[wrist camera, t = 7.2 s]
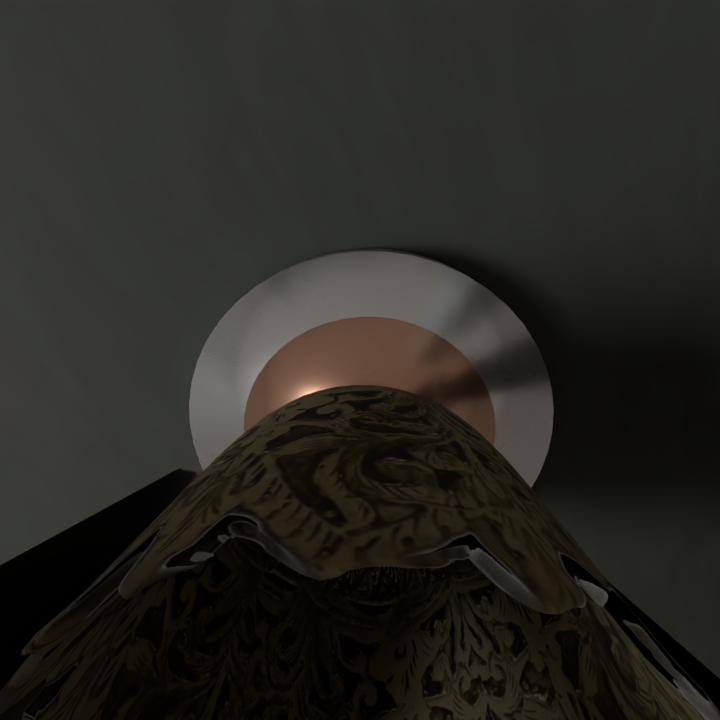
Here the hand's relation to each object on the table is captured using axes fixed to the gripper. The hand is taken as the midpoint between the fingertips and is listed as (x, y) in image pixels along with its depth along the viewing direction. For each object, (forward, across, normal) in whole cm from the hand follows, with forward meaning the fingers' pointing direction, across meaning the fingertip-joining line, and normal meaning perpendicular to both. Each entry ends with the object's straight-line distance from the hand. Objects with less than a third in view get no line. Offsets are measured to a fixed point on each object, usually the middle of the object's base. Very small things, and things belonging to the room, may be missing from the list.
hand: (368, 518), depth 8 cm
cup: (+3, 0, 0) cm, 3 cm away
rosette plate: (+4, 0, 0) cm, 4 cm away
